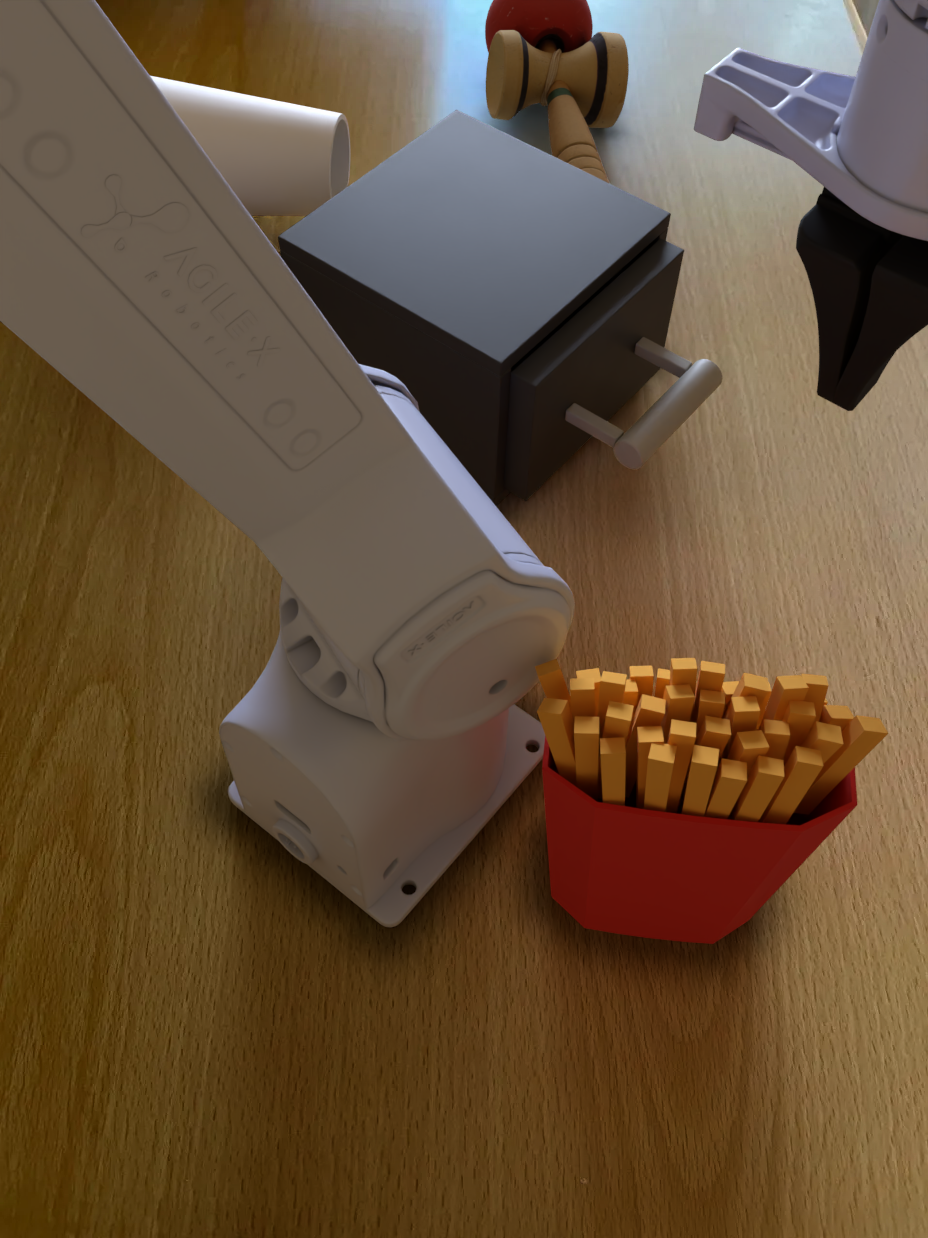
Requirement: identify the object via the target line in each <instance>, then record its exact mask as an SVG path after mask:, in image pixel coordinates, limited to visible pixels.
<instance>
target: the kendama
mask: <svg viewBox="0 0 928 1238" xmlns="http://www.w3.org/2000/svg"><path fill="white" fill-rule="evenodd" d="M592 18H593V17H592V12H591V9H590V5H589V3H588V0H492V1H491V3H490V5H489V9H488V11H487V14H486V19H485V25H484V37H485V38H484V39H485V45H486V49H487V55H488V56H487V63H486V73H485V99H486V107H487V110H488V114H489V115H490V117H491V118H492V119H494V120H501V121H510V120H512V119H513V118H514V117H515V116H516V115H518V114H519V113H520V112H522V111H523V110H525V109H526V108H528V107H531V106H533V105H537V104H540V106H542V107H546V109H547V123H548V136H549V143H550V151H551V155H552V156H554V157H556V158H558V159H560V160H562V161H564V162H566V163H568V164H570V165H572V166H574V167H576V168H578V169H581V170H583V171H585V172H587V173H589V174H591V175H593V176H595V177H597V178H599V179H601V180H603V181H605V182H607V183H609V184H611V182H610V180H609V178H608V174H607V173H606V169H605V167H604V166H603V161H602V158H601V156H600V154H599V152H598V151H599V150H598V148H597V145H596V142H595V140H594V136H593V135H592V132H591V130H590V129H610V128H612V127H613V126H614V125H615V124H616V123H617V121H618V119H619V118H620V115H621V113H622V111H623V108H624V104H625V100H626V95H627V90H628V83H629V72H630V71H629V53H628V46H627V43H626V40H625V39H624V37H623V35H622V34H620V33H617V32H611V31H610V32H609V31H597V32H596V33H595V34H593V27H594V25H593V24H594V23H593V19H592Z"/></svg>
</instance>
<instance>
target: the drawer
mask: <svg viewBox="0 0 928 1238" xmlns="http://www.w3.org/2000/svg"><path fill="white" fill-rule="evenodd" d="M684 254H685V249H683V248H681V247H680V246H677V245H675V244H673V243H671V242H670V241H668V240H666V241H665V240H663V239H661V238H660V239H659V240H658V241H657V242H656V243H655V244H654V245H652V246H651V247H650V248H649V249H648V250H647V251H646V252H645V253H643V254H642V255H641V256H640V257H639V258H638V259H637V260H636V261H635V262H633V263H632V264H631V265H630V266H629V267H628V268H627V269H626V270H624V271H623V272H622V269H621V270H620V271H619V272H617V273H616V274H615V275H614V276H613V277H612V278H611V279H610V280H609V281H607V282H606V283H605V284H604V285H603V286H602V287H601V288H600V289H598V290H597V291H596V292H595V293H594V294H593V295H592V296H591V297H590V298H588V299H587V300H586V301H585V302H584V303H583V304H582V305H581V306H579V307H578V308H577V309H576V310H575V311H574V312H573V313H572V314H570V315H569V316H568V317H567V318H566V319H565V320H564V321H563V322H562V323H560V324H559V325H558V326H557V327H556V328H555V329H554V330H553V331H551V332H550V333H549V334H548V335H547V336H546V337H545V338H544V339H542V340H541V341H540V342H539V343H538V344H537V345H536V346H535V347H534V348H532V349H531V350H530V351H529V352H528V353H527V354H526V355H525V356H523V357H522V358H521V359H520V360H519V361H518V362H517V363H516V364H515V365H513V366H512V367H511V378H510V394H509V411H508V427H507V444H506V460H505V477H504V488H505V489H506V490H508V491H509V492H510V494H512V495H514V496H516V497H518V498H519V499H521V500H523V501H524V502H527V501H528V500H529V499H530V498H531V497H532V496H533V495H534V494H535V493H536V492H537V491H538V490H539V489H540V488H541V487H542V486H544V484H545V483H547V481H549V479H550V478H551V477H552V476H554V475H555V474H556V473H557V471H559V469H561V467H563V466H564V464H566V463H567V462H568V461H569V460H570V459H571V458H572V457H573V456H574V455H575V454H576V452H578V451H579V450H580V449H581V448H582V447H583V446H584V445H585V444H586V443H587V442H588V441H589V440H590V439H591V438H592V437H593V438H595V439H597V440H599V441H601V442H602V443H604V444H606V445H607V446H609V447H610V448H612V450H613V454H614V456H615V459H616V460H617V461H618V462H619V463H620V464H621V465H622V466H623V467H625V468H627V469H629V470H639V469H641V468H642V467H643V466H644V465H645V463H647V462H648V460H650V458H652V456H653V455H655V454H656V453H657V451H658V450H659V449H660V448H661V447H662V446H663V445H664V444H665V443H666V442H667V441H668V440H669V439H670V438H671V437H672V435H673V434H675V432H677V430H679V428H680V427H681V426H682V425H683V424H684V423H685V422H686V421H687V420H688V419H689V418H690V417H691V416H693V414H694V413H695V412H696V411H697V410H698V409H699V408H700V407H701V406H702V404H703V403H704V402H705V401H706V400H707V399H708V398H709V397H710V396H711V395H712V394H713V393H714V392H715V391H716V390H717V389H718V388H719V387H720V386H721V385H722V382H723V373H722V371H721V368H720V367H719V366H718V364H717V363H716V362H714V361H712V360H710V359H707V358H700V359H698V360H696V361H695V362H694V363H693V362H692V361H690V360H688V359H687V358H684V357H683V356H681V355H679V354H677V353H675V352H673V351H671V350H669V349H667V348H666V342H667V337H668V332H669V327H670V322H671V317H672V313H673V308H674V302H675V298H676V294H677V288H678V282H679V277H680V273H681V267H682V265H683V257H684ZM660 370H664V371H666V372H667V373H669V374H671V375H673V376H675V377H676V378H678V379H677V380H676V381H674V383H673V384H672V385H671V386H670V387H669V388H668V389H667V390H666V391H665V392H664V393H663V394H662V395H661V396H660V397H659V398H658V399H657V400H656V401H655V402H654V403H653V404H652V405H651V406H650V407H649V408H648V409H647V410H646V411H645V412H644V413H643V414H642V415H641V416H640V417H639V418H638V419H637V420H636V421H634V423H633V424H632V425H631V426H630V427H629V428H628V429H627V430H626V431H624V430H623V429H621V428H620V427H618V426H616V425H614V424H613V423H611V422H609V420H610V419H611V418H612V417H613V416H615V414H616V413H617V412H618V411H619V410H620V409H621V408H622V407H624V405H626V403H628V402H629V401H630V399H631V398H633V397H634V396H635V395H636V394H637V393H638V392H639V391H640V390H641V389H642V388H643V387H644V386H645V385H646V384H647V383H648V382H649V381H650V379H652V378H653V377H654V376H655V375H656V374H657V373H658V372H659V371H660Z"/></svg>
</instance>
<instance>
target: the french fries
mask: <svg viewBox="0 0 928 1238" xmlns="http://www.w3.org/2000/svg"><path fill="white" fill-rule="evenodd" d="M535 669H536V672H537V675H538V678H539V683H540V686H541V688H542V690H543V692H544V693H543V694H544V695H545V697H543V700H542V701H541V702H540V705H539V707H538V709H537V710H536V713H537V715H538V718H539V722H541V724H542V727H543V730H544V733H545V743H544V753H543V759H542V765H541V771H542V772H541V774H542V775H541V776H542V786H543V801H544V802H543V803H544V815H545V828H546V841H547V857H548V871H549V884H550V897H551V898H552V899H553V900H554V901H555V902H556V903H557V904H558V905H559V906H560V907H562V909H563V910H564V911H565V912H567V913H568V914H569V916H571V917H572V918H573V919H574V920H575V921H576V922H577V923H578V924H579V925H580V926H581V927H582V928H584V929H587V930H593V931H600V932H604V933H605V932H606V933H610V934H617V935H624V936H630V937H631V936H632V937H637V938H645V939H653V940H661V941H672V942H682V943H694V944H708V945H714V944H716V943H717V942H718V941H720V940H722V939H724V937H726V936H728V935H729V934H731V933H732V932H734V931H735V930H737V929H739V928H740V927H742V926H743V925H744V924H746V923H747V922H749V921H750V920H751V919H752V918H753V917H754V916H755V915H756V913H758V911H759V910H761V908H762V907H763V906H764V905H765V904H766V903H767V902H768V901H769V900H770V899H771V898H772V896H774V895H775V893H776V892H777V891H779V889H780V888H781V887H782V886H783V885H784V884H786V882H787V881H788V880H789V879H790V878H791V876H793V874H794V873H795V872H796V871H797V870H798V869H799V868H800V867H801V866H802V865H803V864H804V862H806V861H807V859H808V858H810V856H811V855H812V854H813V853H814V852H815V851H816V850H817V849H818V848H819V847H820V846H821V844H822V843H823V842H825V840H826V839H827V838H829V835H831V834H832V833H833V832H834V831H835V830H836V828H838V827H839V825H840V824H841V823H842V822H843V821H844V820H845V819H846V818H847V817H848V816H849V815H850V813H852V811H854V809H855V808H856V807H857V806H858V794H857V793H858V792H857V778H856V767H857V766H858V765H859V764H860V763H861V761H863V760H864V759H865V758H866V757H867V756H868V755H869V754H870V753H871V752H872V751H873V750H874V749H875V748H876V747H877V746H878V745H879V744H880V743H881V742H882V741H883V740H884V739H885V738H886V737H887V736H888V735H889V732H888V730H887V728H886V727H885V725H884V723H883V721H882V719H881V718H880V717H874V716H873V717H872V716H865V715H859V714H855V716H854V714H853V713H852V711H851V710H850V708H849V706H848V705H836V704H828V703H829V701H828V699H827V698H826V697H827V694H828V689H829V681H828V678H827V675H820V674H811V673H801V674H794V675H793V674H792V675H777V676H775V679H774V682H773V686H772V688H771V684H770V682H769V678H768V677H765V676H761V675H758V674H757V675H756V674H753V673H749V672H743V673H742V675H741V677H740V679H739V680H733V681H725V676H726V664H725V663H720V662H713V661H707V660H700V666H699V671H698V664H697V660H696V657H676V658H675V657H674V658H673V657H672V658H670V669H667V668H666V669H665V668H660V667H659V668H657V673H656V674H657V675H656V679H655V681H656V682H655V688H654V677H655V675H654V668H653V665H629V678H627V677H628V674H627V673H618V672H612V671H607V670H602V673H601V672H600V668H599V667H595V668H588V669H581V670H576V671H575V676H576V678H575V677H574V678H570V679H569V688H568V686H567V682H566V680H565V677H564V674H563V672H562V668H561V666H560V663H559V660H558V658H557V659H554V660H551V661H549V662H546V663H543V664H540V665H537V666H535Z"/></svg>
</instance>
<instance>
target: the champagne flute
mask: <svg viewBox="0 0 928 1238" xmlns="http://www.w3.org/2000/svg"><path fill="white" fill-rule="evenodd" d="M150 77H151V78H152V79H153V81H154V82H155V84H156V85H157V86H158V88H159V89H160V91H161V92H162V93H163V95H164V96H165V97H166V99H167V100H168V102H169V103H170V104H171V106H172V107H173V108H174V110H175V111H176V113H177V114H178V115H179V117H180V118H181V120H182V121H183V122H184V124H185V125H186V126H187V128H188V129H189V131H190V132H191V133H192V135H193V136H194V137H195V139H196V140H197V142H198V143H199V144H200V146H201V147H202V149H203V150H204V151H205V153H206V154H207V155H208V157H209V158H210V160H211V161H212V162H213V164H214V165H215V167H216V168H217V169H218V171H219V172H220V173H221V175H222V176H223V178H224V179H225V180H226V182H227V183H228V184H229V186H230V187H231V189H232V190H233V191H234V193H235V194H236V196H237V197H238V198H239V200H240V201H241V202H242V204H243V205H244V207H245V208H246V209H247V211H248V212H249V213H250V215H251V216H252V217H272V216H273V217H306V216H307V215H309V214H310V213H311V212H313V211H314V210H316V209H317V208H318V207H320V206H321V205H323V204H324V203H326V202H327V201H328V200H330V199H331V198H333V197H334V196H335V195H337V194H338V193H340V192H341V191H342V190H344V189H345V188H347V187H348V186H349V185H350V183H349V182H350V174H351V134H350V133H351V132H350V127H349V122H348V118H347V117H346V115H345V114H344V113H341V112H336V111H331V110H327V109H322V108H316V107H311V106H305V105H301V104H296V103H290V102H285V101H280V100H275V99H270V98H265V97H260V96H255V95H250V94H245V93H240V92H235V91H230V90H226V89H225V90H224V89H219V88H214V87H210V86H205V85H199V84H195V83H190V82H189V83H188V82H184V81H179V80H174V79H168V78H164V77H159V76H153V75H150Z"/></svg>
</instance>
